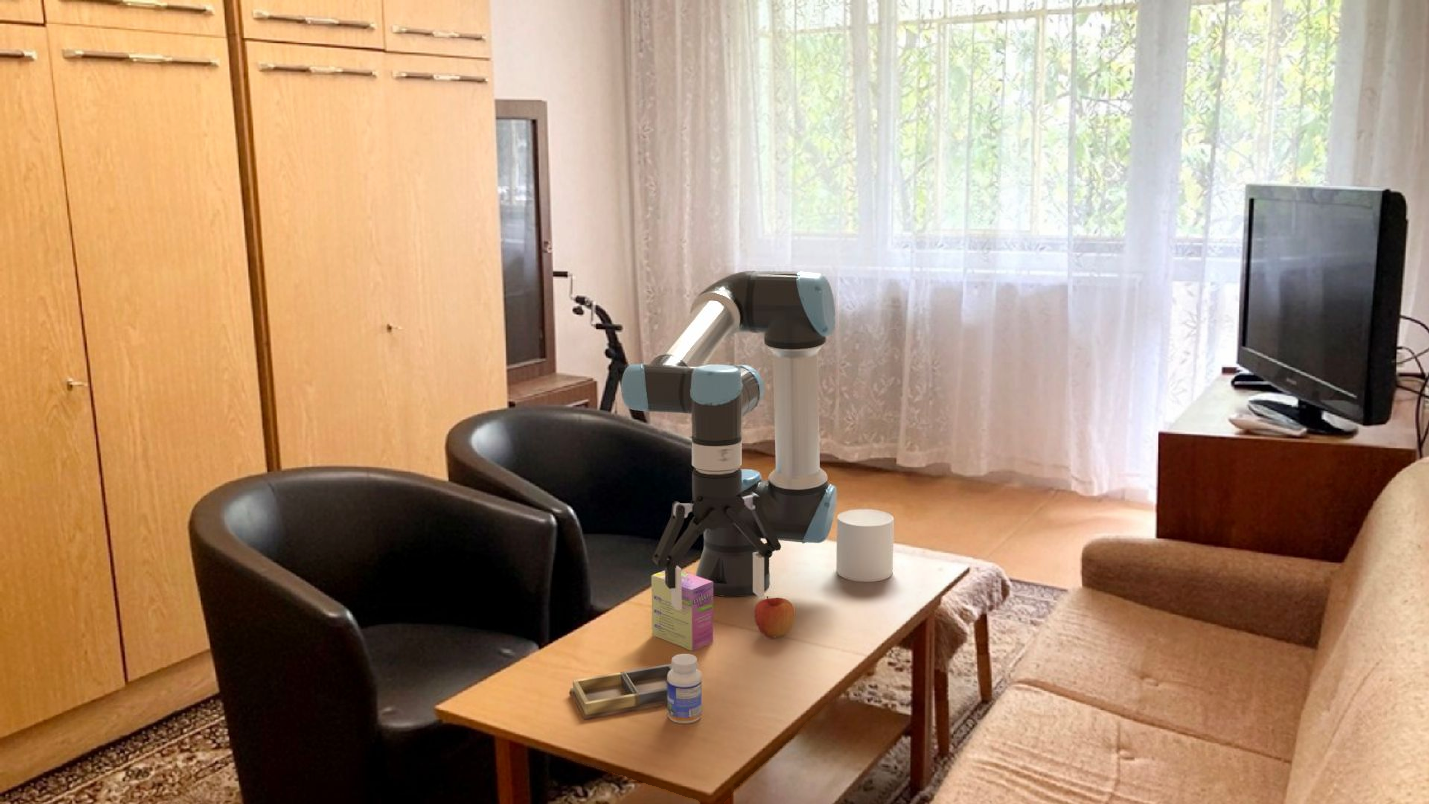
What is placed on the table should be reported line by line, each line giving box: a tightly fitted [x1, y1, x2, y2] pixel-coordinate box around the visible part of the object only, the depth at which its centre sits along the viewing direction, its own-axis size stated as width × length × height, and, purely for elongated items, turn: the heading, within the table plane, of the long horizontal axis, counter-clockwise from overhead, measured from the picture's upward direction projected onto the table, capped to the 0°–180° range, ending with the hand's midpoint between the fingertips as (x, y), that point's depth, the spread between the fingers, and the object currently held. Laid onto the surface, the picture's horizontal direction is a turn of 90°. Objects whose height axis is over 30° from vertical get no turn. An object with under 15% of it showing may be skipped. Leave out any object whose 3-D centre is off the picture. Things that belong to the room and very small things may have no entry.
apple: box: [754, 596, 796, 640], centre depth 207 cm, size 7×7×8 cm
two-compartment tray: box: [569, 663, 672, 720], centre depth 186 cm, size 18×10×2 cm, turn 110°
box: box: [650, 570, 714, 652], centre depth 206 cm, size 10×6×12 cm, turn 47°
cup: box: [835, 508, 895, 583], centre depth 238 cm, size 12×12×12 cm
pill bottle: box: [667, 653, 703, 724], centre depth 178 cm, size 5×5×10 cm
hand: (718, 601), depth 177 cm, fingers open, 13 cm apart
